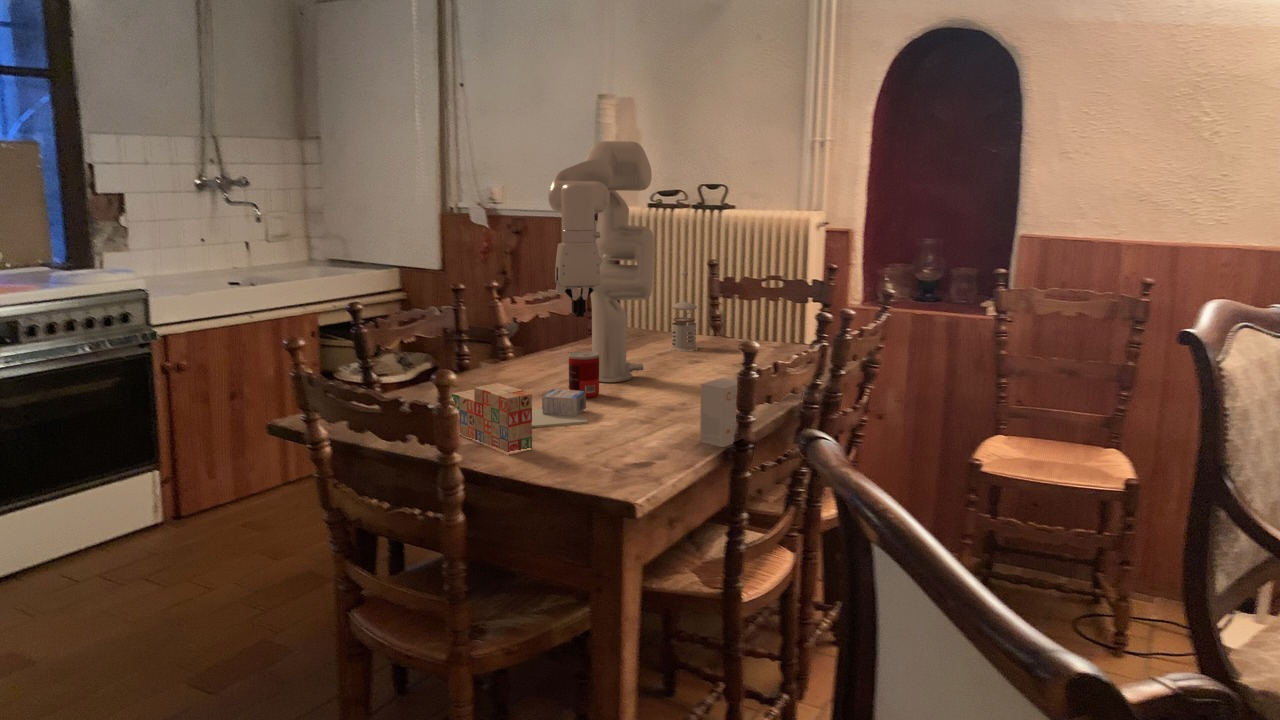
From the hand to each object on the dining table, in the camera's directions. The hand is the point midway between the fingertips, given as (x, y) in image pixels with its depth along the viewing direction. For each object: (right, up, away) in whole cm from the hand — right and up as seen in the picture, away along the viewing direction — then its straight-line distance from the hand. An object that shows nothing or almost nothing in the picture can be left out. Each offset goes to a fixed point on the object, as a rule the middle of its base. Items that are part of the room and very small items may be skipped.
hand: (578, 316), depth 221 cm
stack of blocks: (-17, -28, -19) cm, 38 cm away
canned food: (0, -20, +21) cm, 29 cm away
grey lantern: (+29, -7, +86) cm, 91 cm away
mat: (-8, -24, -1) cm, 25 cm away
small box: (+32, -28, -18) cm, 46 cm away
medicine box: (+1, -21, +2) cm, 21 cm away
